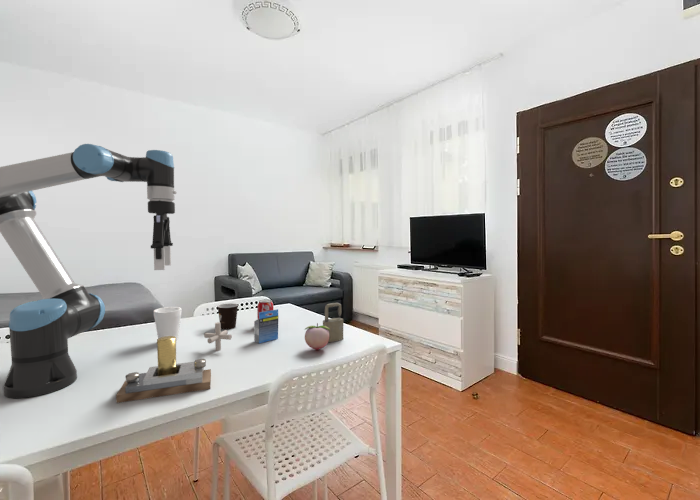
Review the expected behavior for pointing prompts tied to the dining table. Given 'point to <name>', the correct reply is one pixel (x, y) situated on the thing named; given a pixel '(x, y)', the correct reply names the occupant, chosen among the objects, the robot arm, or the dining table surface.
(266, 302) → the soda can
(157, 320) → the foam cup
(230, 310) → the coffee mug
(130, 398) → the walnut board
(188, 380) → the grey slotted fixture
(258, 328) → the label tape box
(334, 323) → the padlock
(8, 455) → the dining table surface
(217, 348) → the pipe connector
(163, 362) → the brass pin
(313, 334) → the decorative fruit
